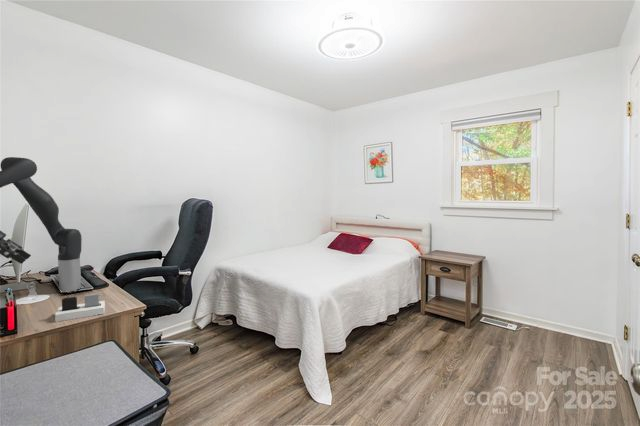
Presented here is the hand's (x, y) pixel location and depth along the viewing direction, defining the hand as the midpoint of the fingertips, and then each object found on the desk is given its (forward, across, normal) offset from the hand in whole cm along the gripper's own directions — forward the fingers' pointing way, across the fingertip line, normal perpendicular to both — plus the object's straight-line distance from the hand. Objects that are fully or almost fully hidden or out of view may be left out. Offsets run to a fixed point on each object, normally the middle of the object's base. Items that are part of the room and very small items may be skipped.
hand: (26, 259), depth 132 cm
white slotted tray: (+30, -5, +5) cm, 31 cm away
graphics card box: (+23, +52, +14) cm, 59 cm away
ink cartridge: (+28, -5, +8) cm, 29 cm away
